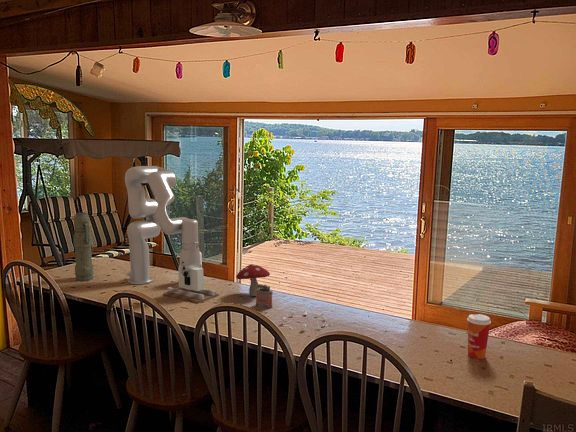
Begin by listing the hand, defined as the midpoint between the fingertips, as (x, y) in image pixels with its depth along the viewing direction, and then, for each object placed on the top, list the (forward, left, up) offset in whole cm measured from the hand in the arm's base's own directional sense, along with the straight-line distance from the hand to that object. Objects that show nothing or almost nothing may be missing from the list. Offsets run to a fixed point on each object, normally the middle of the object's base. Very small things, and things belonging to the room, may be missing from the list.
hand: (190, 283), depth 236 cm
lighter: (+38, +6, -6) cm, 39 cm away
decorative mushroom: (+24, +17, -6) cm, 30 cm away
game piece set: (+63, -1, -7) cm, 63 cm away
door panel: (0, 0, -2) cm, 2 cm away
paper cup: (+129, +4, -6) cm, 129 cm away
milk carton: (-14, +17, -6) cm, 23 cm away
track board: (0, 0, -6) cm, 6 cm away
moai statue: (-66, -10, -6) cm, 67 cm away
